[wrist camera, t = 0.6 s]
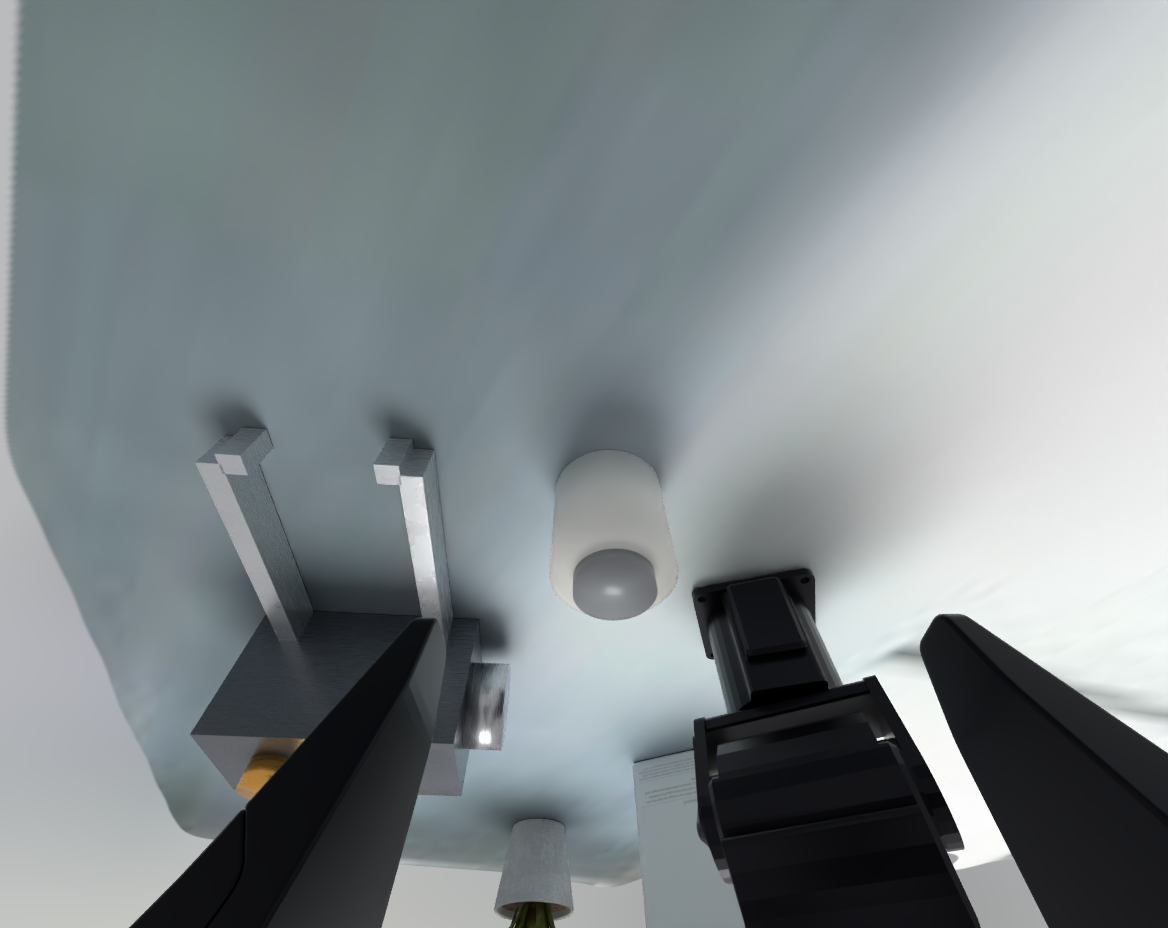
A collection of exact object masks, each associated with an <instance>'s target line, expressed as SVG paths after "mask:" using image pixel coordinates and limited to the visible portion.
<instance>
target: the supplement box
mask: <svg viewBox="0 0 1168 928" xmlns="http://www.w3.org/2000/svg"><path fill="white" fill-rule="evenodd" d="M633 776H634V790H635V802H636V813H637V825H638V837H639V850H640V862H641V873H642V885H643V897H644V907H645V908H644V909H645V921H646V928H745V924H744V921H743V917H742V914H741V911H740V907H739V904H738V900H737V897H736V893H735V890H734V886H733V884H726V883H725V882H724V880H723V879H722V877H721V875H720V873H719V872H718V869H717V867H716V865H715V862H714V860H713V857H712V854H711V851H710V849H709V847H708V846H707V845H706V844H705V843H704V842H702V841H701V840H700V838H699V836H698V832H697V827H696V823H697V807H698V803H697V789H696V776H695V762H694V750H691V751H686V752H681V753H677V754H672V755H667V756H663V757H659V758H654V759H650V760H645V761H641V762H637V763H634V765H633Z"/></svg>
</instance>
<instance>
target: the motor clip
mask: <svg viewBox="0 0 1168 928" xmlns="http://www.w3.org/2000/svg"><path fill="white" fill-rule="evenodd" d="M272 449H273V446H272V443H271V440H270V437H269V435H268V432H267V429H258V428H244V427H243V428H241V429H240V430H239V431H238V432H237V433H236V434H235V435H234V436H224V437H223V438H222V439H221V440H220V441H219V442H217V443H216V444H215V445H214V446H213V447H212V448H211V449H210V450H209V451H207V452H206V453H205V454H204V455H203V456H202V457H201V458H200V459H198V460H197V461H196V462H195V463H196V465H197V467H198V469H199V472H200V474H201V476H202V478H203V480H204V482H205V484H206V486H207V489H208V491H209V493H210V495H211V497H212V499H213V501H214V504H215V506H216V508H217V510H218V512H219V514H220V516H221V518H222V521H223V523H224V525H225V527H226V529H227V531H228V533H229V536H230V538H231V540H232V542H233V544H234V546H235V548H236V550H237V553H238V555H239V557H240V559H241V561H242V563H243V565H244V568H245V570H246V572H247V574H248V576H249V578H250V580H251V582H252V585H253V587H254V589H255V591H256V593H257V595H258V597H259V600H260V602H261V604H262V606H263V608H264V610H265V612H266V615H265V617H264V618H263V620H262V622H261V623H260V625H259V626H258V628H257V629H256V631H255V633H254V634H253V636H252V637H251V639H250V641H249V642H248V644H247V645H246V647H245V648H244V650H243V652H242V653H241V655H240V656H239V658H238V660H237V661H236V663H235V664H234V666H233V667H232V669H231V671H230V672H229V674H228V675H227V677H226V679H225V680H224V682H223V683H222V685H221V686H220V688H219V690H218V691H217V693H216V694H215V696H214V698H213V699H212V701H211V702H210V704H209V705H208V707H207V709H206V710H205V712H204V713H203V715H202V717H201V718H200V720H199V721H198V723H197V724H196V726H195V728H194V729H193V731H192V732H191V734H190V735H191V736H192V738H193V739H194V740H195V741H196V743H197V744H198V745H199V746H200V748H201V749H202V750H203V751H204V753H205V754H206V755H207V756H208V758H209V759H210V760H211V761H212V763H213V764H214V765H215V766H216V768H217V769H218V770H219V771H220V773H221V774H222V775H223V776H224V778H225V779H226V780H227V781H228V783H229V784H230V785H231V786H232V788H233V789H236V792H237V793H238V794H239V795H241V796H242V797H244V798H247V799H249V800H251V799H252V798H253V797H254V795H255V794H256V793H257V792H258V791H259V790H260V789H261V788H262V787H263V785H264V784H265V783H266V782H267V781H268V780H269V779H270V778H271V777H272V775H273V774H274V773H275V772H276V771H277V770H278V769H279V768H280V767H281V765H282V764H283V763H284V762H285V761H286V760H287V759H288V758H289V757H290V755H291V754H292V753H293V752H294V751H295V750H296V749H297V748H298V746H299V745H300V744H301V743H302V742H303V741H304V740H305V739H306V738H307V736H308V735H309V734H310V733H311V732H312V731H313V730H314V729H315V728H316V726H317V725H318V724H319V723H320V722H321V721H322V720H323V719H324V718H325V716H326V715H327V714H328V713H329V712H330V711H331V710H332V709H333V708H334V706H335V705H336V704H337V703H338V702H339V701H340V700H341V699H342V698H343V696H344V695H345V694H346V693H347V692H348V691H349V690H350V689H351V688H352V686H353V685H354V684H355V683H356V682H357V681H358V680H359V679H360V678H361V676H362V675H363V674H364V673H365V672H366V671H367V670H368V669H369V668H370V666H371V665H372V664H373V663H374V662H375V661H376V660H377V659H378V658H379V656H380V655H381V654H382V653H383V652H384V651H385V650H386V649H387V648H388V646H389V645H390V644H391V643H392V642H393V641H394V640H395V639H396V638H397V636H398V635H399V634H400V633H401V632H402V631H403V630H404V629H405V627H406V626H407V625H408V624H409V623H410V622H411V621H412V620H414V619H415V618H436V619H437V620H438V621H439V624H440V627H441V631H442V634H443V637H444V641H445V644H446V659H445V665H444V672H443V678H442V684H441V690H440V696H439V702H438V708H437V714H436V721H435V727H434V732H433V738H432V743H431V747H430V751H429V755H428V759H427V763H426V766H425V770H424V774H423V777H422V781H421V785H420V788H419V792H418V795H445V796H461V794H462V789H463V783H464V777H465V772H466V766H467V760H468V755H469V749H477V750H502V747H503V742H504V736H505V728H506V720H507V711H508V701H509V688H510V664H499V663H482V661H481V645H480V629H479V619H461V618H453V612H452V603H451V594H450V585H449V576H448V567H447V558H446V549H445V540H444V531H443V522H442V514H441V505H440V496H439V487H438V478H437V469H436V460H435V451H434V450H426V449H414V446H413V439H402V438H389V439H388V441H387V442H386V444H385V446H384V447H383V449H382V451H381V452H380V454H379V456H378V457H377V459H376V461H375V463H374V464H373V465H374V470H375V475H376V480H377V484H388V485H399V486H400V492H401V498H402V503H403V509H404V515H405V521H406V527H407V532H408V538H409V544H410V550H411V556H412V562H413V567H414V573H415V579H416V585H417V591H418V596H419V602H420V608H421V614H422V616H402V615H382V614H362V613H342V612H322V611H314V610H313V607H312V605H311V602H310V599H309V597H308V594H307V591H306V589H305V586H304V583H303V581H302V578H301V575H300V573H299V570H298V567H297V565H296V562H295V559H294V557H293V554H292V551H291V549H290V546H289V543H288V541H287V538H286V535H285V533H284V530H283V527H282V525H281V522H280V519H279V517H278V514H277V511H276V509H275V506H274V503H273V501H272V498H271V495H270V493H269V490H268V487H267V485H266V482H265V479H264V477H263V474H262V471H261V469H260V466H259V463H260V462H261V461H262V460H263V459H264V458H265V457H266V456H267V454H268V453H269V452H270V451H271V450H272Z"/></svg>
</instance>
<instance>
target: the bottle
mask: <svg viewBox="0 0 1168 928" xmlns="http://www.w3.org/2000/svg"><path fill="white" fill-rule="evenodd" d="M677 578H678V566H677V561H676V557H675V552H674V548H673V543H672V538H671V534H670V529H669V525H668V520H667V516H666V511H665V506H664V502H663V497H662V493H661V488H660V483H659V480H658V477H657V475H656V473H655V471H654V470H653V469H652V467H651V466H650V465H649V464H648V463H647V462H645V461H644V460H643V459H641V458H639V457H638V456H636V455H633V454H631V453H628V452H624V451H618V450H600V451H594V452H591V453H587V454H585V455H583V456H580V457H579V458H577V459H575V460H574V461H572V462H571V463H570V464H568V465H567V466H566V467H565V468H564V470H563V471H562V472H561V474H560V476H559V478H558V480H557V483H556V488H555V501H554V517H553V532H552V548H551V563H550V582H551V586H552V588H553V590H554V592H555V594H556V595H557V596H558V598H559V599H560V600H561V601H562V602H564V603H565V604H566V605H568V606H569V607H571V608H573V609H575V610H576V611H579V612H581V613H584V614H588V615H590V616H592V617H595V618H598V619H603V620H623V619H628V618H632V617H635V616H637V615H640V614H641V613H643V612H645V611H646V610H649V609H651V608H653V607H654V606H656V605H658V604H659V603H661V602H662V601H663V600H664V599H665V598H666V597H667V596H668V595H669V594H670V593H671V592H672V590H673V588H674V587H675V584H676V582H677Z"/></svg>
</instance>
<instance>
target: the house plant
mask: <svg viewBox="0 0 1168 928" xmlns="http://www.w3.org/2000/svg"><path fill="white" fill-rule="evenodd" d="M494 911H495V913H496V914H497V915H498V916H500V917H502V918H505V919H509V920H512V923H511V926H510V927H509V928H513V927H514V925H515V927H514V928H549V927H550V928H555V926H554V921H555V920H561V919H565V918H567V917H569V916H571V915H572V914H573V900H572V891H571V881H570V872H569V863H568V853H567V844H566V835H565V827H564V826H563V825H562V824H561V823H559V822H557V821H553V820H549V819H527V820H522V821H520V822H517V823H516V824H514V826H513V829H512V833H511V837H510V842H509V846H508V851H507V855H506V859H505V864H504V868H503V872H502V877H501V881H500V885H499V890H498V894H497V899H496V903H495V907H494ZM515 923H516V924H515Z"/></svg>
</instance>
